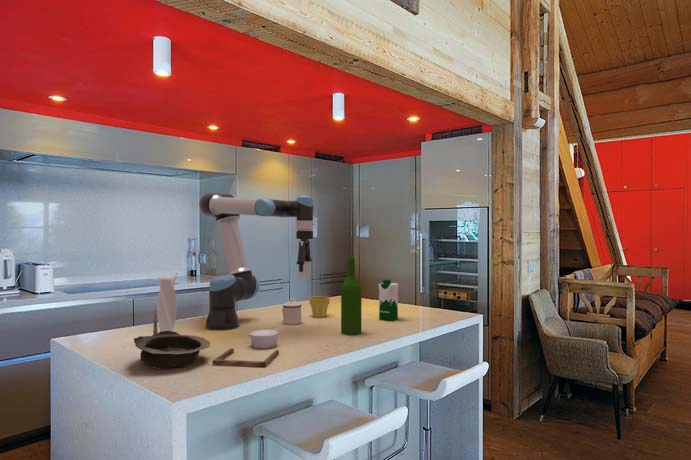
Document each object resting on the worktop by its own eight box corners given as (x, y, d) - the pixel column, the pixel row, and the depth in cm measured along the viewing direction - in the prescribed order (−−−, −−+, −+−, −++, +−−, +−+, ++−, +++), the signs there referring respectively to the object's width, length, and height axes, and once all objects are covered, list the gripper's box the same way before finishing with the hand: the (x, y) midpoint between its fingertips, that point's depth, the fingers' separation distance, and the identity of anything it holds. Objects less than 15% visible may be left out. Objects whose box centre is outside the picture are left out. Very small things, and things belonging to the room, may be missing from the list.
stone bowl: (125, 359, 155) (127, 332, 156) (197, 353, 170) (199, 328, 170) (139, 377, 135) (141, 346, 136) (219, 369, 150) (221, 341, 150)
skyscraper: (172, 336, 190) (172, 270, 190) (180, 340, 184) (180, 272, 184) (152, 340, 184) (152, 272, 184) (160, 343, 178) (160, 273, 178)
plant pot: (311, 314, 238) (311, 295, 238) (330, 314, 237) (330, 296, 237) (307, 318, 228) (307, 298, 228) (327, 318, 227) (327, 299, 227)
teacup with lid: (305, 323, 216) (305, 298, 216) (290, 325, 210) (290, 301, 210) (290, 319, 225) (290, 296, 225) (275, 322, 218) (275, 298, 218)
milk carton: (376, 320, 223) (376, 279, 223) (385, 316, 231) (385, 278, 231) (392, 321, 218) (392, 281, 218) (400, 318, 226) (400, 279, 226)
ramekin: (246, 343, 177) (246, 330, 177) (274, 341, 182) (274, 328, 182) (252, 351, 167) (252, 337, 167) (281, 347, 171) (281, 334, 171)
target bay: (212, 364, 150) (212, 360, 150) (230, 352, 165) (230, 348, 165) (265, 367, 147) (265, 362, 147) (278, 354, 162) (278, 350, 162)
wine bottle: (365, 332, 196) (365, 258, 196) (352, 336, 190) (351, 259, 189) (350, 329, 202) (350, 257, 202) (336, 332, 196) (336, 258, 195)
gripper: (308, 230, 189) (307, 280, 189) (317, 230, 213) (316, 274, 214) (290, 230, 189) (290, 280, 189) (301, 229, 214) (301, 274, 214)
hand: (304, 277), depth 202 cm, fingers open, 13 cm apart
